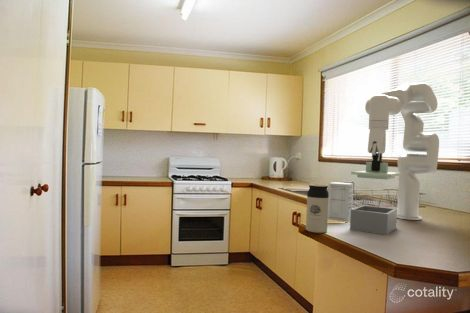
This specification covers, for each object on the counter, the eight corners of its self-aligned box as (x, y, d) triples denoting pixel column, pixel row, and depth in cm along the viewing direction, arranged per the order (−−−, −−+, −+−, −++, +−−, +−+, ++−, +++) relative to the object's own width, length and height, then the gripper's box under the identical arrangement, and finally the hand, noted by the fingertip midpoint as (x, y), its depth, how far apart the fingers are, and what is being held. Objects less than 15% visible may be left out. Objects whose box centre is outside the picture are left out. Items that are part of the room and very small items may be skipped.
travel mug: (311, 228, 150) (313, 183, 150) (330, 231, 145) (332, 184, 145) (302, 230, 144) (304, 183, 144) (321, 234, 139) (323, 185, 139)
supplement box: (352, 219, 175) (354, 183, 175) (347, 222, 168) (349, 184, 167) (332, 216, 180) (333, 181, 180) (326, 219, 172) (328, 182, 172)
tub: (362, 223, 165) (363, 205, 165) (396, 228, 158) (397, 209, 157) (349, 229, 150) (350, 209, 150) (386, 234, 143) (387, 213, 142)
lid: (363, 175, 166) (364, 161, 166) (400, 178, 157) (401, 163, 157) (351, 177, 150) (351, 161, 150) (390, 180, 142) (391, 163, 142)
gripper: (373, 127, 162) (372, 169, 163) (363, 124, 149) (361, 170, 149) (392, 127, 158) (390, 170, 158) (383, 124, 145) (381, 171, 145)
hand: (376, 170), depth 154 cm, fingers closed on lid, 2 cm apart
